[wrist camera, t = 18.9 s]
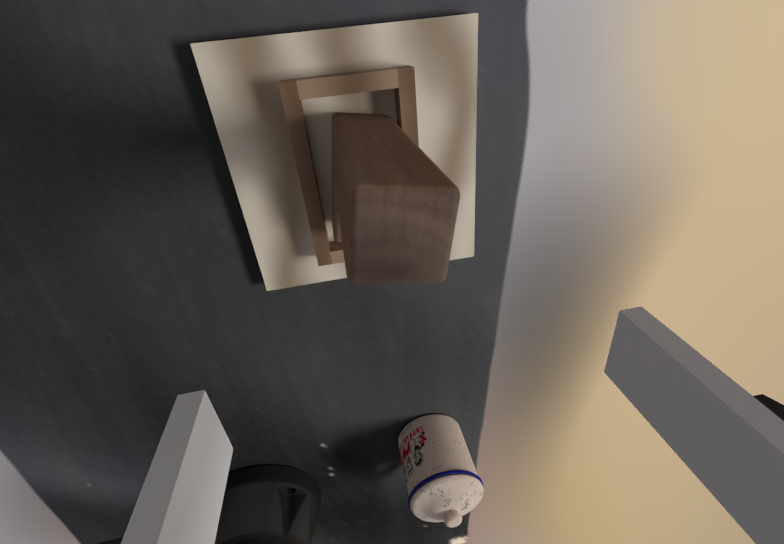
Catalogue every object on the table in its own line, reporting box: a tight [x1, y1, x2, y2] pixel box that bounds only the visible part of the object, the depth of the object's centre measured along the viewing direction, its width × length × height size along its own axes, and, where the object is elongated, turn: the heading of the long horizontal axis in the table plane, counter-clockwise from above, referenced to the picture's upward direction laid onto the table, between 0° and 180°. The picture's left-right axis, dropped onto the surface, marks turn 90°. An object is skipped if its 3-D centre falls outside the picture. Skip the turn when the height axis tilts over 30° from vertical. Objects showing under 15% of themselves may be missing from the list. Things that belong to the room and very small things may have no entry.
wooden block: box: [332, 112, 460, 285], centre depth 25 cm, size 9×4×18 cm, turn 175°
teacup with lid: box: [398, 414, 483, 527], centre depth 49 cm, size 12×9×12 cm
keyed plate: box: [190, 13, 478, 291], centre depth 32 cm, size 20×20×4 cm
